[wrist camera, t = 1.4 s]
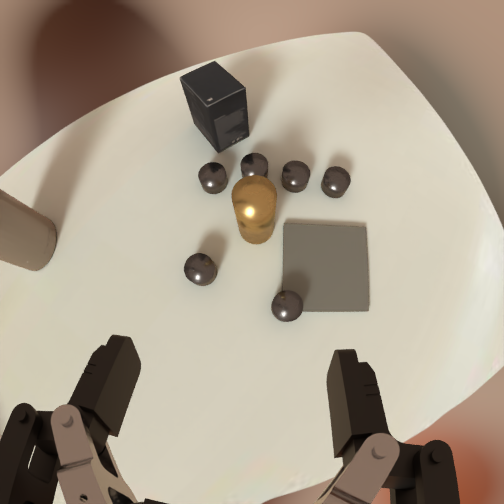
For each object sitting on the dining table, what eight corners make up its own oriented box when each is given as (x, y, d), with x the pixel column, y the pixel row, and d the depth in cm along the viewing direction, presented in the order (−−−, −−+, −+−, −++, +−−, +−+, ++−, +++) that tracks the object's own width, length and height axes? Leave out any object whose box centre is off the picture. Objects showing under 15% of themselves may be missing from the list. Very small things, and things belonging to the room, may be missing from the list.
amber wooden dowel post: (238, 243, 37) (230, 215, 28) (240, 211, 38) (233, 174, 29) (273, 244, 37) (276, 216, 28) (273, 212, 38) (276, 175, 29)
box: (250, 136, 41) (246, 87, 31) (218, 154, 41) (206, 107, 31) (223, 106, 43) (214, 59, 33) (193, 123, 43) (177, 76, 32)
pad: (281, 311, 35) (282, 310, 35) (283, 224, 38) (283, 223, 37) (367, 311, 35) (368, 311, 34) (364, 228, 37) (365, 227, 37)
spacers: (186, 316, 35) (180, 316, 33) (201, 162, 41) (197, 153, 38) (350, 321, 34) (357, 321, 32) (343, 167, 40) (348, 158, 37)
